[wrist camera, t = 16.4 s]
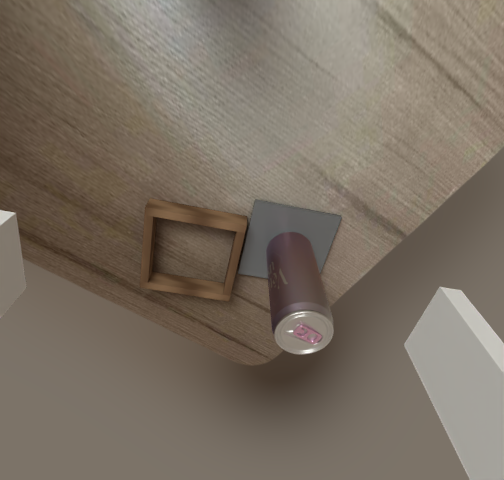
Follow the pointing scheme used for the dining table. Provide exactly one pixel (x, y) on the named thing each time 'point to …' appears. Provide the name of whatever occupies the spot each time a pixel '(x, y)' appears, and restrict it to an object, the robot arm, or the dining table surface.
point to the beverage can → (297, 295)
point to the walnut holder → (195, 217)
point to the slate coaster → (279, 221)
